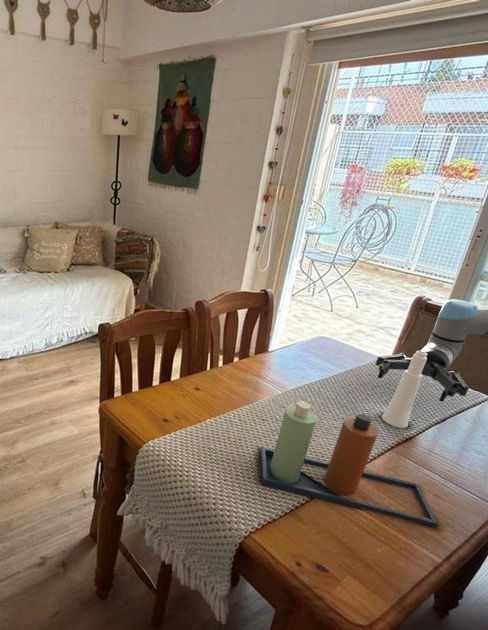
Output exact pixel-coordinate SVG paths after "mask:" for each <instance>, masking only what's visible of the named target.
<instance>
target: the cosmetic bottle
mask: <svg viewBox="0 0 488 630" xmlns="http://www.w3.org/2000/svg"><path fill="white" fill-rule="evenodd" d="M426 356H427V353H426V352H423V351H421V350H416V351H415V353H414V354H413V355H412V357H411V358H412V360H411V363H410V365H409V368H408V370H404V372H403V374H402V376H401V378H400V381H399V383H398V385H397V387H396V389H395V391H394V394H393V395H392V398H391V401H390V403H389V404H388V406H387V407H386V410H385V411H384V413H383V415H382V416H381V418H382V420H383V422H385V423H386V424H388V425H390V426H392V427H394V428H395V427H396V428H401V429H404V428H407V427H408V426H409V420H410V417H411V413H412V409H413V407H414V404H415V399H416V397H417V394H418V391H419V389H420V385H421V382H422V379H423V374H421V373H422V370H423V368H424V365H425V363H426V360H427V357H426Z"/></svg>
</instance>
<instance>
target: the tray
mask: <svg viewBox="0 0 488 630" xmlns="http://www.w3.org/2000/svg"><path fill="white" fill-rule="evenodd" d="M274 450H275V449H271V448H268V447H263V446H262V447H260V451H259V453H260V455H259V456H260V472H261V473H260V474H261V475H260V476H261V485H262V486H265V487H270V488H274V489H277V490H282V491H285V492H289V493H292V494H296V495H301V496H305V497H308V498H311V499H316V500H320V501H324V502H328V503H332V504H336V505H340V506H343V507H347V508H351V509H355V510H358V511H362V512H365V511H371V512H373V513H374V512H375V513H379V514H382V515H386V516H389V517H393V518H397V519H401V520H404V521H409V522H413V523H416V524H420V525H425V526H428V527H432V528H438V525H439V523H438V521H437V519H436V517H435V515H434V512H433V510H432V508H431V507H430V505H429V503H428V501H427V499H426V496H425V495H424V492H423V490H422V489H421V486H420V484H419V483H415V482H412V481H407V480H403V479H399V478H394V477H390V476H386V475H382V474H378V473H374V472H369V471H365V470H364V471H363V474H362V477H361V478H367V479H369V480H370V479H371V480H375V481H378V482H383V483H387V484H391V485H396V486H400V487H404V488H408V489H412V490H413V491H414V493H415V495H416V497H417V500H418V501H419V503H420V505H421V507H422V509H423V511H424V513H425V516H426V517H423V516H419V515H415V514H411V513H407V512H404V511H400V510H396V509H393V508H392V509H391V508H388V507H384V506H380V505H376V504H372V503H369V502H365V501H360V500H356V499H353V498H349V497H346V496H342V495H340V496H338V495H339V494H338V495H336V494H334V493H332V492H331V491H329V490H328V489H327V488H328V487H327V486H326V485H325V484H322V483H321V482H319V481H317V480H316V479H314V478H313V477H311V476H310V475H308V474H306V473H304V472H303V471H302V470H301V472H300V476H299V479H298V481H296V482H294V483H286V482H283V481H280V480H278V479H277V478H275V477H274V476H273V475H272V474H271V472H270V465H271V461H272V458H273V454H274ZM329 463H330V462H327V461H322V460H318V459H316V458H315V459H314V458H310V457H306V456H305V459H304V463H303V464H308V465H311V466H316V467H320V468H324V469H328V466H329ZM326 487H327V488H326Z"/></svg>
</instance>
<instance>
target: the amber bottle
mask: <svg viewBox="0 0 488 630" xmlns="http://www.w3.org/2000/svg"><path fill="white" fill-rule="evenodd" d="M372 420H373V419H372V417H371V416H370V415H367V414H365V413H359V412H358V413H357V414H356V416H355V417H348V418H345V419H344V420H343V422H342V425H341V428H340V431H339V434H338V436H337V440H336V443H335V446H334V449H333V452H332V455H331V457H330V460H329V462H328V463H329V466H328V468H326V469H327V470H326V471H325V472H326V473H325V475H324V478H323V482H324V485H325V486H326V488H327V489H328V490H329V491H331V492H332V493H334V494H336V495H338V496H344V497H350V496H354V495H355V494H356V492H357V490H358V487H359V484H360V481H361V480H362V478H363V477H362V474H363V471H365V469H366V465H367V463H368V461H369V459H370V456H371V453H372V452H373V451H372V450H373V448H374V445H375V442H376V440H377V438H378V435H379V430H378V428H377V427H376V426H375V425H374V424H372Z"/></svg>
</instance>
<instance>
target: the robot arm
mask: <svg viewBox="0 0 488 630" xmlns="http://www.w3.org/2000/svg"><path fill="white" fill-rule="evenodd" d="M467 335H471V336H472V335H474V336H475V335H476V336H488V309H483V308H478V306H477V304H475V303H473V302H470V301H466V300H461V299H448V300H446V301H445V302H444V303H443V305H442V306H441V308H440V310H439V312H438V315H437V319H436V321H435V324H434V327H433V330H432V332H431V333H430V336H429V339H428V341H427V344H426V345H425V346H424V347H423V348H422V349H421V350H420V351H423V352H426V353H427V356H426V357H427V360H426V363H425V365H424V368H423V370H422V373H421V374H422V376H425V377H430V378H431V379H432V380H433V381H436V382H438V383H439V384H440V385H441V386H442V387H444V389H443V390H442V392H441V395H440V396H439V399H438V401H440V402H444V401H445V399H446V398H447V397H450V398H452V397H454V396H455V395H456V394H458V395H459V396H461V397H466V396H467V393H468V391H469V386H468V384H467V383H466V382H465V381H464V379H463V378H462V376H461V375H460V374H461V372H460V371H459V370H453V371H452V370H451V371H449V370H448V368H449V367H450V366H451V365H452V363H453V361H455V360H456V358H458V357H459V356H460V354H461V351H462V346H463V344H464V342H465V339H466V337H467ZM406 355H407V354H406V353H405V352H400V353H398V354H389V355H388V354H387V355H379V356H377V359H376V362H375V366H378V371H379V372H378V375H377V379H382V378H383V377H384V376H386V375H387V373H389V371H390V370H398V371H399V370H400V371H401V370H403V371H405V370H408V368H409V365H410V363H411V360H412V357H411V358H410V357H407V356H406Z"/></svg>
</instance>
